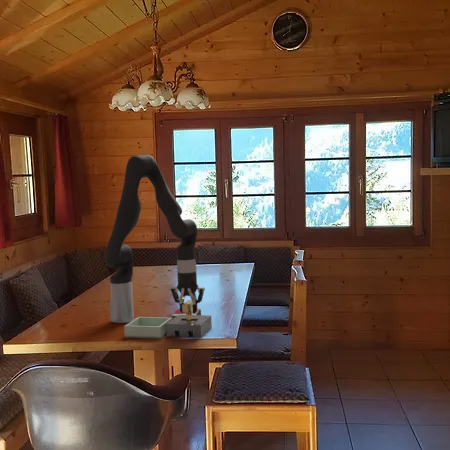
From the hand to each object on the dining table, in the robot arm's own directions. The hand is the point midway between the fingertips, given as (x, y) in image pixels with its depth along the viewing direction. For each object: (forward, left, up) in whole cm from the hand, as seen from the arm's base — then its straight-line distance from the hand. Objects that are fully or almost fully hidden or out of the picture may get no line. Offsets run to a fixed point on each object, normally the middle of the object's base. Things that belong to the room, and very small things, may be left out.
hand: (188, 312), depth 229 cm
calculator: (-8, +18, -8) cm, 21 cm away
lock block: (0, 0, -8) cm, 8 cm away
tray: (-16, -3, -8) cm, 18 cm away
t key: (0, 0, -8) cm, 8 cm away
